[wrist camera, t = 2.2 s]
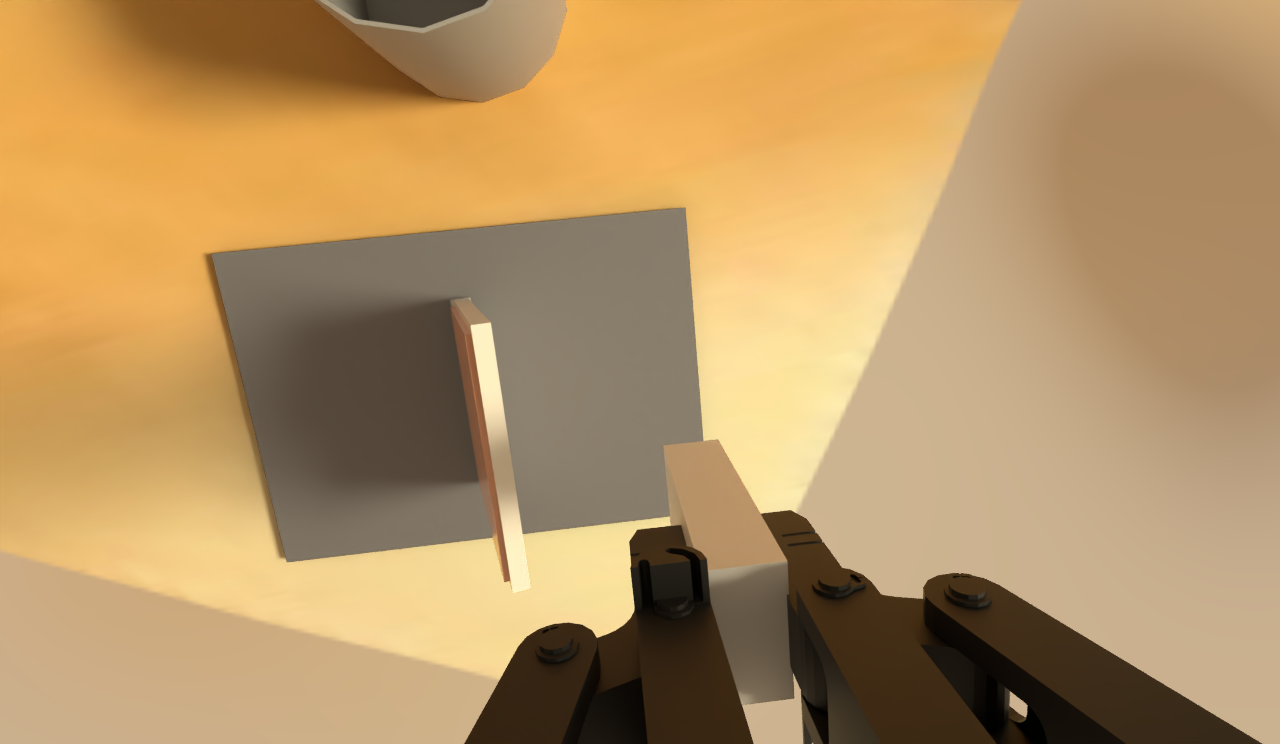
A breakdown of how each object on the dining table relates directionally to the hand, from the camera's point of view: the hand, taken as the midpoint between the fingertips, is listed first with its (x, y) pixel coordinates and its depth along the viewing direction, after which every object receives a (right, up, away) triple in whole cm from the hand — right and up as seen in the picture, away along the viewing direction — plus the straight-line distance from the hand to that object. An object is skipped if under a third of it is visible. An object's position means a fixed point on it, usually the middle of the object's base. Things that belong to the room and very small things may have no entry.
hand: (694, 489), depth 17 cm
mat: (-9, +2, +13) cm, 16 cm away
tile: (-7, +1, +8) cm, 11 cm away
